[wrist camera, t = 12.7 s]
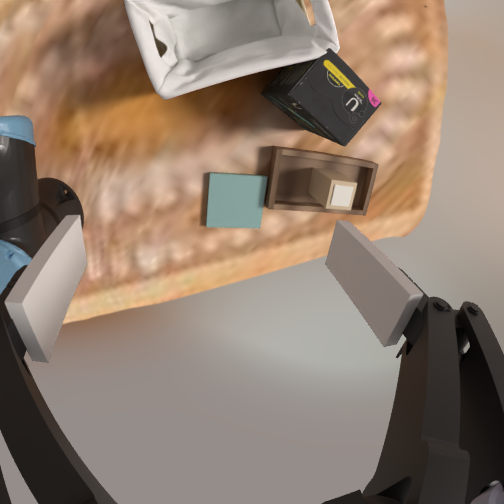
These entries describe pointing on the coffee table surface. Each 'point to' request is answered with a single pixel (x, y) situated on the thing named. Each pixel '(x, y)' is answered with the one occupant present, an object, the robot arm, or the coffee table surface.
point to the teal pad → (235, 200)
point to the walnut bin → (299, 175)
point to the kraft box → (332, 189)
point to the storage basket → (225, 39)
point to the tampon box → (323, 97)
